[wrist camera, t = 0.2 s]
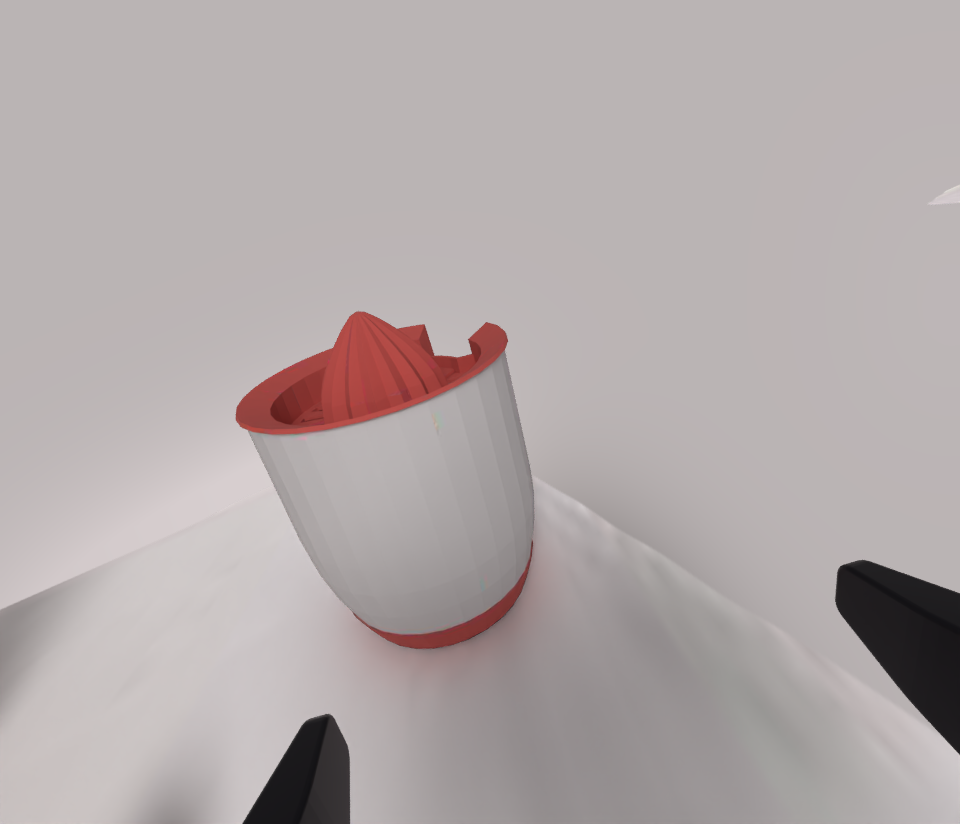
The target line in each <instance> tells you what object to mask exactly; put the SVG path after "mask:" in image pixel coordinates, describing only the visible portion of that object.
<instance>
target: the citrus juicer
mask: <svg viewBox="0 0 960 824" xmlns="http://www.w3.org/2000/svg"><path fill="white" fill-rule="evenodd" d="M468 340H469V343H470V347H471V351H472V354H470V355H466V356H462V357H458V358H457V357H451V356H434V353H433V350H432V347H431V343H430V340H429V337H428V334H427V331H426V328H425V325H416V326H410V327H404V328H399V329H396V328H395V327H393V326H391V325H390V324H388V323H386V322H385V321H383V320H381V319H379V318H377V317H375V316H373V315H371V314H368V313H366V312H355V313H354V314H352V315H351V316H350V317H349V319H348V320H347V322H346V323H345V325H344V327H343V329H342V330H341V332H340V334H339V336H338V338H337V341H336V343H335V345H334V347H333V348H332V349H329V350H326V351H324V352H321V353H319V354H316V355H314V356H312V357H309V358H307V359H305V360H302V361H300V362H298V363H296V364H294V365H292V366H290V367H288V368H286V369H284V370H282V371H281V372H279V373H277V374H275V375H273V376H272V377H270V378H268V379H266V380H265V381H264V382H262V383H261V384H259V385H258V386H256V387H255V388H254V389H253V390H251V391H250V392H249V393H248V394H247V395H246V396H245V397H244V398H243V399H242V400H241V402H240V403H239V405H238V406H237V410H236V421H237V422H238V423H239V425H240V426H241V427H242V428H244V429H247V430H248V432H249V434H250V436H251V438H252V441H253V442H254V445H255V447H256V449H257V451H258V453H259V455H260V457H261V459H262V461H263V463H264V466H265V468H266V470H267V472H268V474H269V476H270V478H271V480H272V482H273V484H274V487H275V489H276V491H277V493H278V495H279V497H280V499H281V501H282V503H283V505H284V507H285V510H286V512H287V514H288V516H289V518H290V520H291V522H292V524H293V526H294V528H295V530H296V533H297V535H298V537H299V539H300V541H301V543H302V544H303V546H304V548H305V550H306V551H307V553H308V555H309V557H310V558H311V560H312V562H313V564H314V565H315V567H316V569H317V570H318V572H319V573H320V575H321V577H322V578H323V579H324V581H325V582H326V583H327V584H328V586H329V587H330V588H331V589H332V591H333V592H334V593H335V594H336V596H337V597H338V598H339V599H340V600H341V601H342V602H343V603H344V604H345V605H346V606H347V607H348V608H349V609H350V610H352V612H353V613H354V615H355V617H356V618H357V619H359V620H360V621H361V622H362V623H364V624H365V625H366V626H367V627H369V628H370V629H371V630H373V631H374V632H376V633H377V634H378V635H380V636H382V637H383V638H385V639H387V640H388V641H391V642H393V643H395V644H398V645H400V646H405V647H410V648H416V649H423V648H438V647H443V646H449V645H453V644H456V643H459V642H461V641H464V640H467V639H470V638H472V637H473V636H475V635H477V634H479V633H481V632H483V631H484V630H486V629H488V628H489V627H490V626H492V625H493V624H494V623H495V622H497V621H498V620H499V619H501V618H502V617H503V615H504V614H505V613H506V612H507V611H508V610H509V609H510V608H511V607H512V606H513V604H514V603H515V601H516V599H517V598H518V596H519V595H520V593H521V590H522V588H523V585H524V582H525V579H526V576H527V573H528V569H529V565H530V561H531V557H532V547H533V541H532V534H533V525H534V490H533V484H532V477H531V470H530V464H529V460H528V455H527V451H526V446H525V441H524V437H523V432H522V427H521V423H520V418H519V414H518V409H517V404H516V400H515V395H514V391H513V386H512V381H511V377H510V373H509V368H508V363H507V358H506V354H505V348H506V345H507V342H508V339H507V336H506V333H505V331H504V330H503V329H501V328H500V327H499V326H497V325H494V324H491V323H487V322H486V323H485V324H484V325H483V326H482V327H481V328H480V329H479V330H478V331H477V332H476V333H475V334H473V335H472V336H471V337H470V338H469V339H468Z"/></svg>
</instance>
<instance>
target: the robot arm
mask: <svg viewBox="0 0 960 824" xmlns="http://www.w3.org/2000/svg"><path fill="white" fill-rule="evenodd" d="M835 602H836V605H837V608H838V610H839V612H840V614H841V615H842V617H843V618H844V619H845V620H846V622H847V623H848V624H849V626H850V627H851V628H852V629H853V630H854V632H855V633H856V634H857V636H858V637H859V638H860V639H861V641H862V642H863V643H864V644H865V646H866V647H867V648H868V650H869V651H870V652H871V653H872V655H873V656H874V657H875V658H876V660H877V661H878V662H879V663H880V665H881V666H882V667H883V668H884V670H885V671H886V672H887V673H888V675H889V676H890V677H891V679H892V680H893V681H894V682H895V684H896V685H897V686H898V687H899V688H900V690H901V691H902V692H903V693H904V694H905V696H906V697H907V698H908V699H909V700H910V701H911V703H912V704H913V705H914V706H915V707H916V708H917V709H918V710H919V711H920V713H921V714H922V715H923V716H924V717H925V718H926V719H927V720H928V721H929V722H930V723H931V724H932V726H933V727H934V728H935V729H936V730H937V731H938V732H939V733H940V734H941V735H942V736H943V737H944V738H945V739H946V741H947V742H948V743H949V744H950V745H951V746H952V747H953V748H954V749H955V750H956V751H957V752H958V753H959V754H960V593H957V592H955V591H952V590H949V589H946V588H943V587H940V586H938V585H935V584H932V583H929V582H926V581H924V580H921V579H918V578H915V577H912V576H910V575H907V574H904V573H901V572H898V571H895V570H892V569H890V568H887V567H884V566H881V565H878V564H876V563H873V562H870V561H866V560H859V561H855V562H851V563H848V564H845V565H842V566H840V568H839V569H838V572H837V584H836V597H835ZM243 824H350V757H349V750H348V746H347V743H346V741H345V739H344V737H343V735H342V733H341V731H340V729H339V727H338V725H337V723H336V721H335V719H334V718H333V716H332V715H330V714H325V715H321V716H318V717H314V718H311V719H309V720H307V721H306V722H305V723H304V724H303V725H302V726H301V728H300V730H299V731H298V733H297V734H296V736H295V738H294V739H293V741H292V743H291V744H290V746H289V748H288V749H287V751H286V753H285V754H284V756H283V758H282V759H281V761H280V763H279V764H278V766H277V767H276V769H275V771H274V772H273V774H272V776H271V777H270V779H269V781H268V782H267V784H266V786H265V787H264V789H263V791H262V792H261V794H260V795H259V797H258V799H257V800H256V802H255V804H254V805H253V807H252V809H251V810H250V812H249V814H248V815H247V817H246V819H245V820H244V822H243Z"/></svg>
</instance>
